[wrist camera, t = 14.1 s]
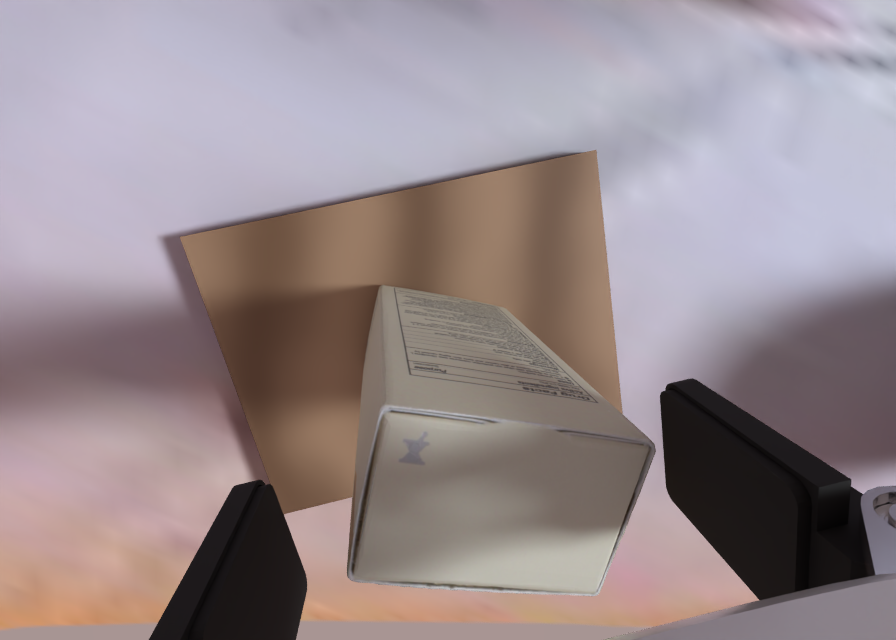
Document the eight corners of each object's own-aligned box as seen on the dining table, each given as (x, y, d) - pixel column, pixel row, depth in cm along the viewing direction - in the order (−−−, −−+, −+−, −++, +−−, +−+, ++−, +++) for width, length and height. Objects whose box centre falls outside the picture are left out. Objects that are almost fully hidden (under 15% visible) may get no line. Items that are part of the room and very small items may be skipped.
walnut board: (585, 152, 21) (596, 150, 20) (613, 418, 25) (624, 429, 24) (191, 234, 20) (179, 236, 19) (286, 499, 24) (281, 514, 23)
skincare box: (361, 370, 21) (325, 587, 10) (378, 280, 20) (362, 400, 9) (492, 392, 22) (605, 609, 11) (515, 307, 21) (666, 446, 10)
